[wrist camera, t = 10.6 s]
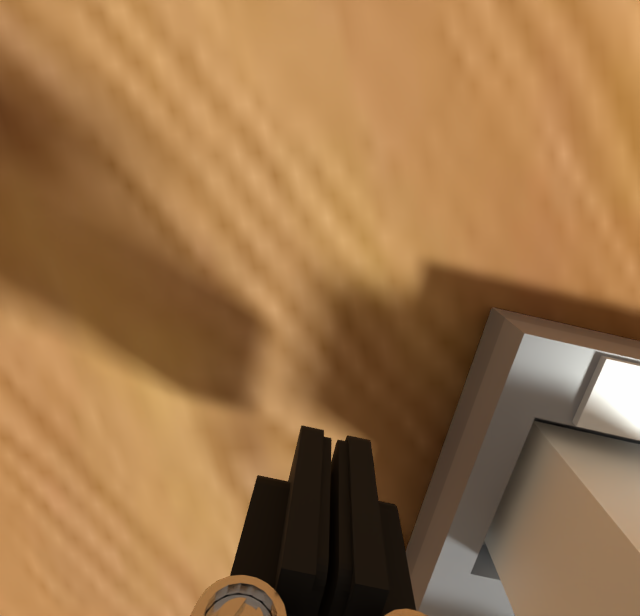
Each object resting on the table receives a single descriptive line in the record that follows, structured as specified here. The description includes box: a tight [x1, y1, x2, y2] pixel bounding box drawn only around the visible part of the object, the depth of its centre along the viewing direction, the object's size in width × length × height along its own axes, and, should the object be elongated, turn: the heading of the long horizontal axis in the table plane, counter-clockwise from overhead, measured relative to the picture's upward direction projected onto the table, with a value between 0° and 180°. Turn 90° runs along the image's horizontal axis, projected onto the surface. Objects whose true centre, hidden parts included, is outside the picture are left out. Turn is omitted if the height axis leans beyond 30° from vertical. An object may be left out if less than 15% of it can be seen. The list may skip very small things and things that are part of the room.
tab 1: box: [484, 421, 640, 616], centre depth 10 cm, size 4×4×5 cm
